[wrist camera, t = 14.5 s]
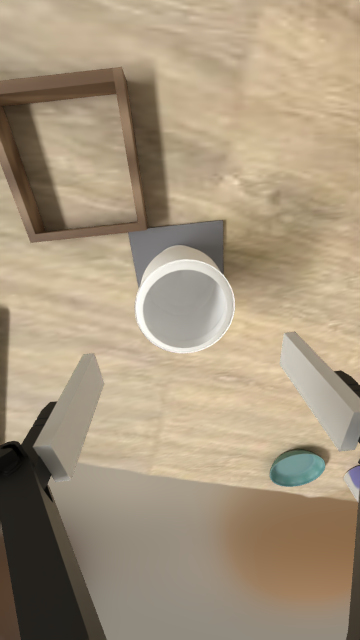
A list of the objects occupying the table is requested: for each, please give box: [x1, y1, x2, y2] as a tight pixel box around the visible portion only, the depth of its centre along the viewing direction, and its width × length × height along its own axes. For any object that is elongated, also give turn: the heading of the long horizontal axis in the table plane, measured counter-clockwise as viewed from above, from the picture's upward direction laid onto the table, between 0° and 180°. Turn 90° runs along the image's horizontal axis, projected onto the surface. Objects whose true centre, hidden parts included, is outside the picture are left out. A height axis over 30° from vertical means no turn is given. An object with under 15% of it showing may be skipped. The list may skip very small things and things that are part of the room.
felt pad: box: [128, 220, 223, 287], centre depth 37 cm, size 14×14×1 cm
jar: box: [135, 245, 235, 353], centre depth 30 cm, size 11×10×15 cm
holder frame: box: [0, 67, 148, 243], centre depth 29 cm, size 16×16×3 cm
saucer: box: [270, 450, 325, 487], centre depth 62 cm, size 15×15×3 cm
